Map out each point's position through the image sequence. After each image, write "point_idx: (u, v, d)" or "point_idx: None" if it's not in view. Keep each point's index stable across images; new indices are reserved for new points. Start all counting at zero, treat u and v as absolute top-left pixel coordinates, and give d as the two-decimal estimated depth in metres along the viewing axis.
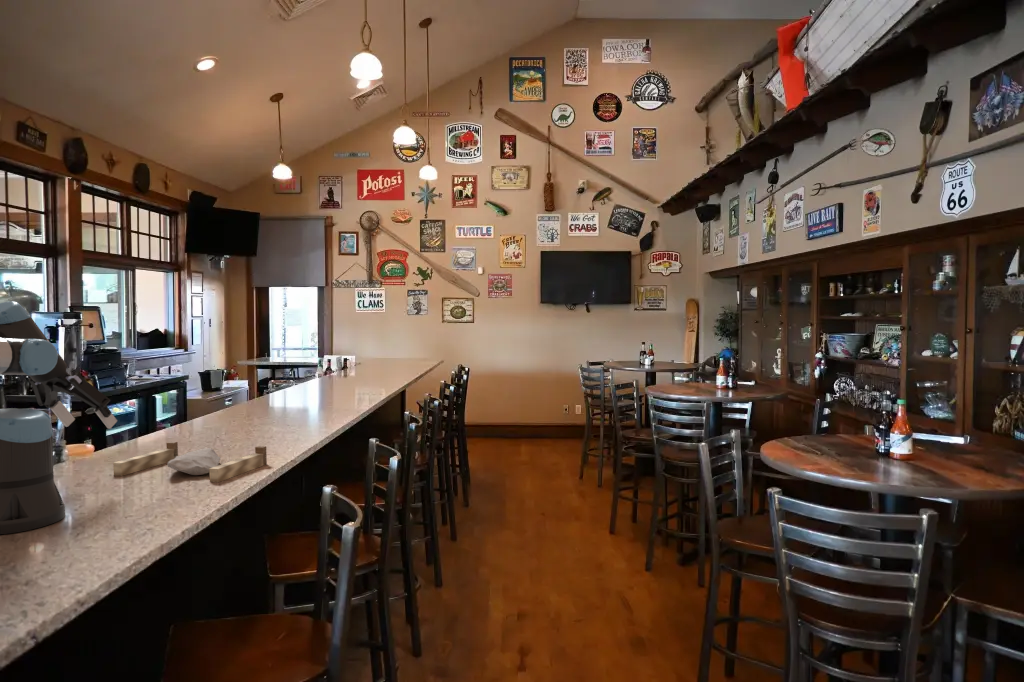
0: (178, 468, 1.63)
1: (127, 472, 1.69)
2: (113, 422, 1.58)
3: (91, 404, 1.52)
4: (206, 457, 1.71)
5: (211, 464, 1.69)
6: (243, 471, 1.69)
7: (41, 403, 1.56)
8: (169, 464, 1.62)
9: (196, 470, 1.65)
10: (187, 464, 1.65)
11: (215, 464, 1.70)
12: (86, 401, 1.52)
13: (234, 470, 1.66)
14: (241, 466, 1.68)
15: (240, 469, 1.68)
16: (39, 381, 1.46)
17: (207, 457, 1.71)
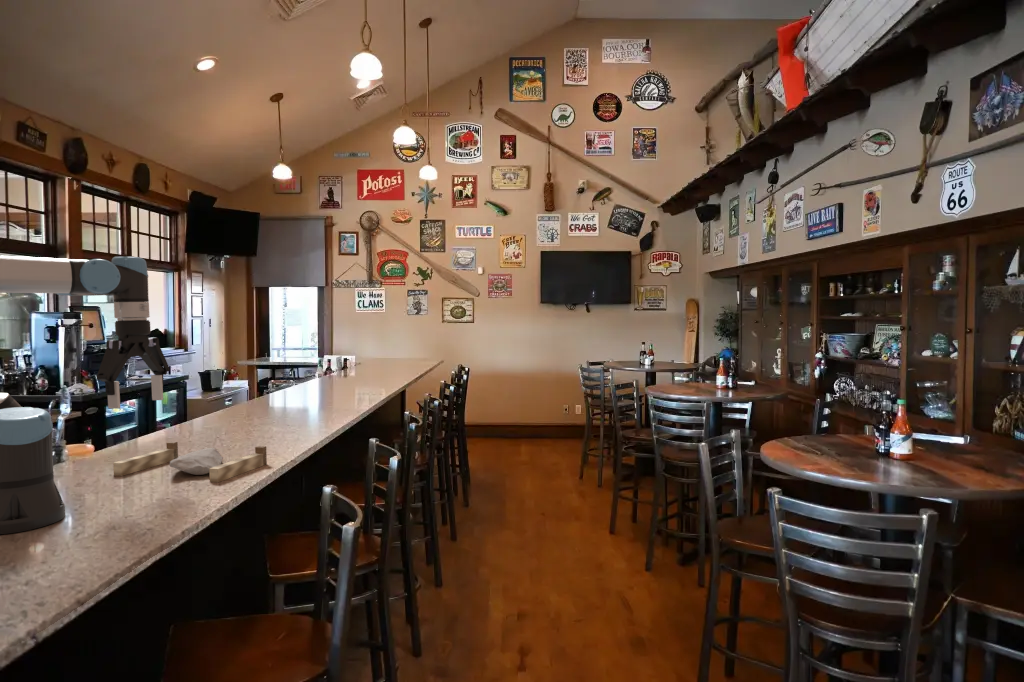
0: (180, 468, 1.63)
1: (127, 472, 1.69)
2: (113, 406, 1.49)
3: None
4: (208, 457, 1.71)
5: (213, 464, 1.69)
6: (243, 471, 1.69)
7: None
8: (171, 464, 1.63)
9: (198, 470, 1.65)
10: (189, 464, 1.65)
11: (217, 464, 1.71)
12: None
13: (234, 470, 1.66)
14: (241, 466, 1.68)
15: (240, 469, 1.68)
16: None
17: (209, 457, 1.71)
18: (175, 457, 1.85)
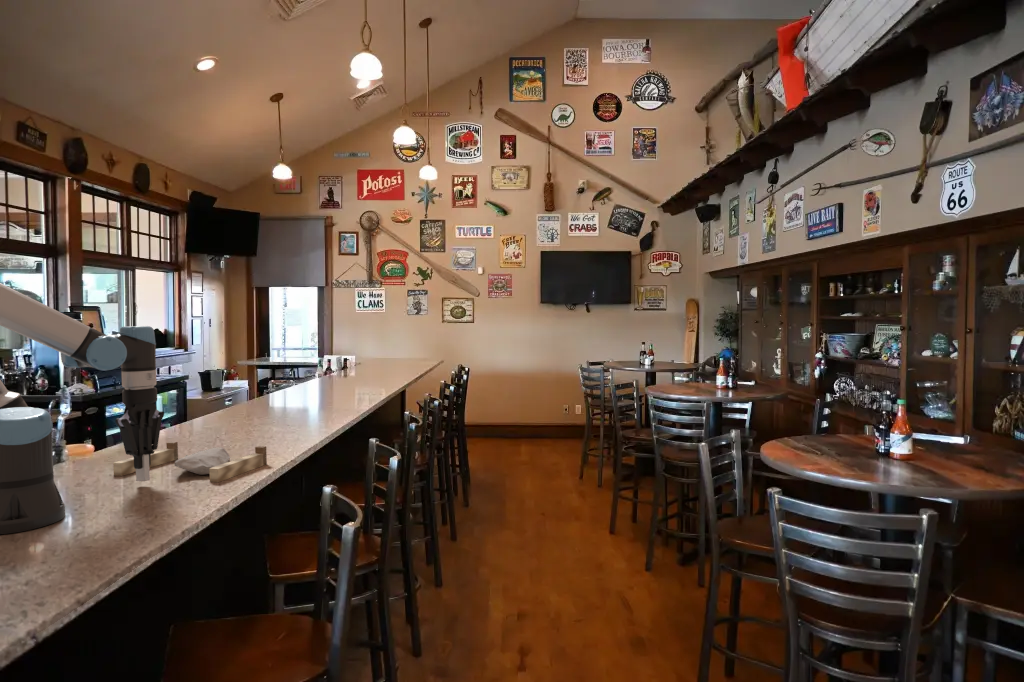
0: (184, 467, 1.64)
1: (127, 472, 1.69)
2: (141, 479, 1.56)
3: None
4: (214, 457, 1.71)
5: (217, 464, 1.69)
6: (243, 471, 1.69)
7: None
8: (175, 463, 1.63)
9: (202, 470, 1.65)
10: (193, 464, 1.66)
11: None
12: None
13: (234, 470, 1.66)
14: (241, 466, 1.68)
15: (240, 469, 1.68)
16: None
17: (215, 457, 1.71)
18: (175, 457, 1.85)
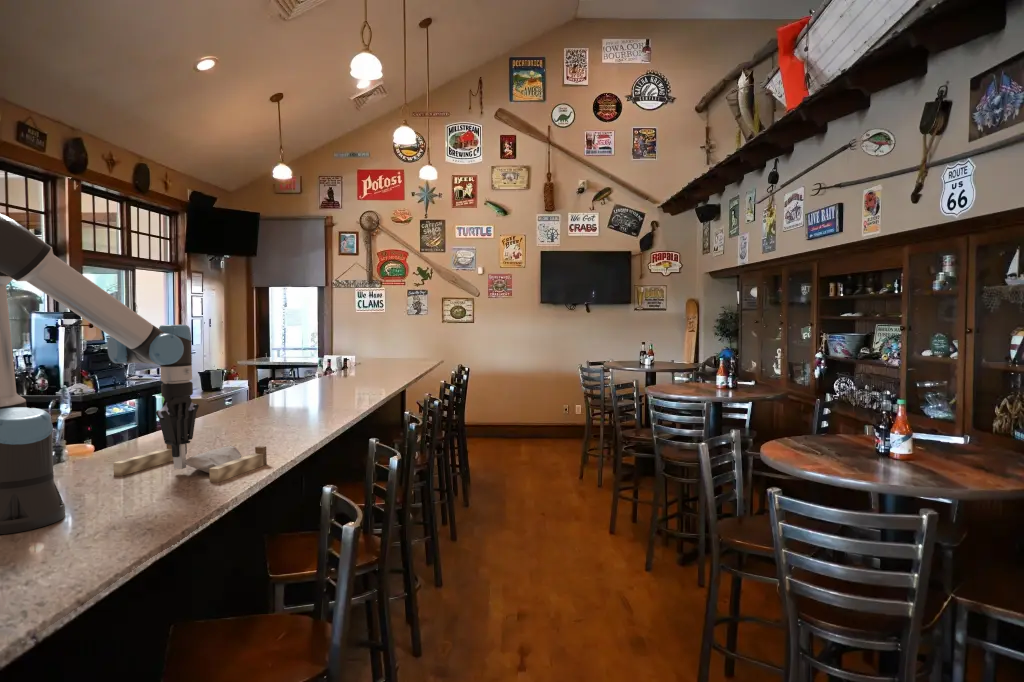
0: (194, 466, 1.65)
1: (127, 472, 1.69)
2: (178, 466, 1.68)
3: None
4: (224, 455, 1.72)
5: None
6: (243, 471, 1.69)
7: None
8: (186, 462, 1.65)
9: None
10: (204, 462, 1.67)
11: None
12: None
13: (234, 470, 1.66)
14: (241, 466, 1.68)
15: (240, 469, 1.68)
16: None
17: (225, 455, 1.73)
18: None
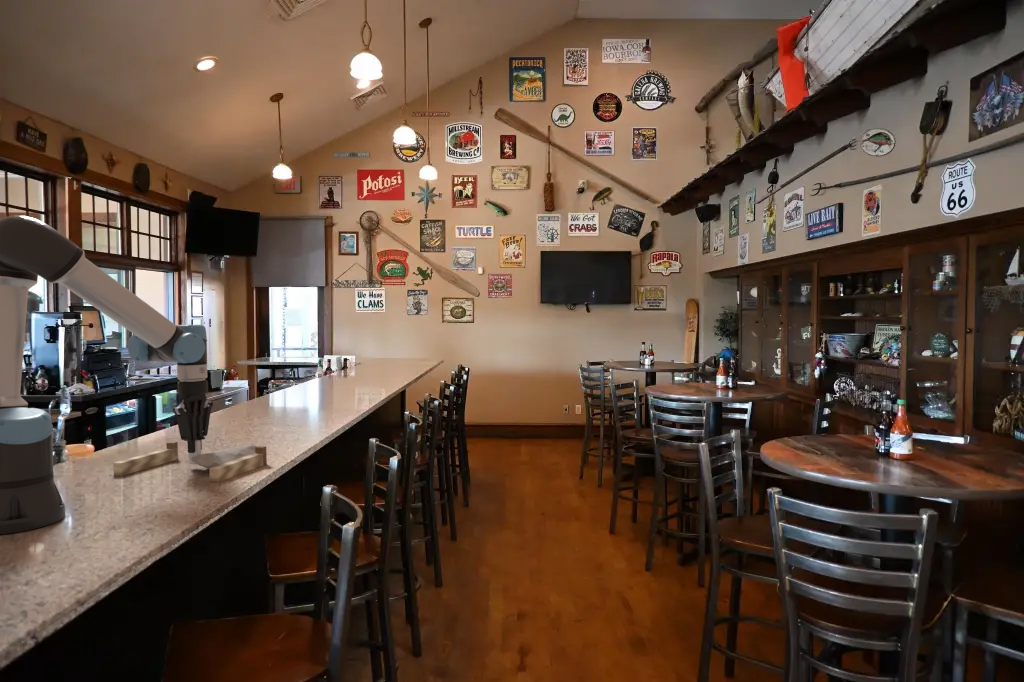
0: (198, 463, 1.68)
1: (127, 472, 1.69)
2: None
3: None
4: (232, 454, 1.74)
5: None
6: (243, 471, 1.69)
7: None
8: (192, 459, 1.68)
9: None
10: (209, 460, 1.69)
11: None
12: None
13: (234, 470, 1.66)
14: (241, 466, 1.68)
15: (240, 469, 1.68)
16: None
17: (233, 454, 1.74)
18: (175, 457, 1.85)
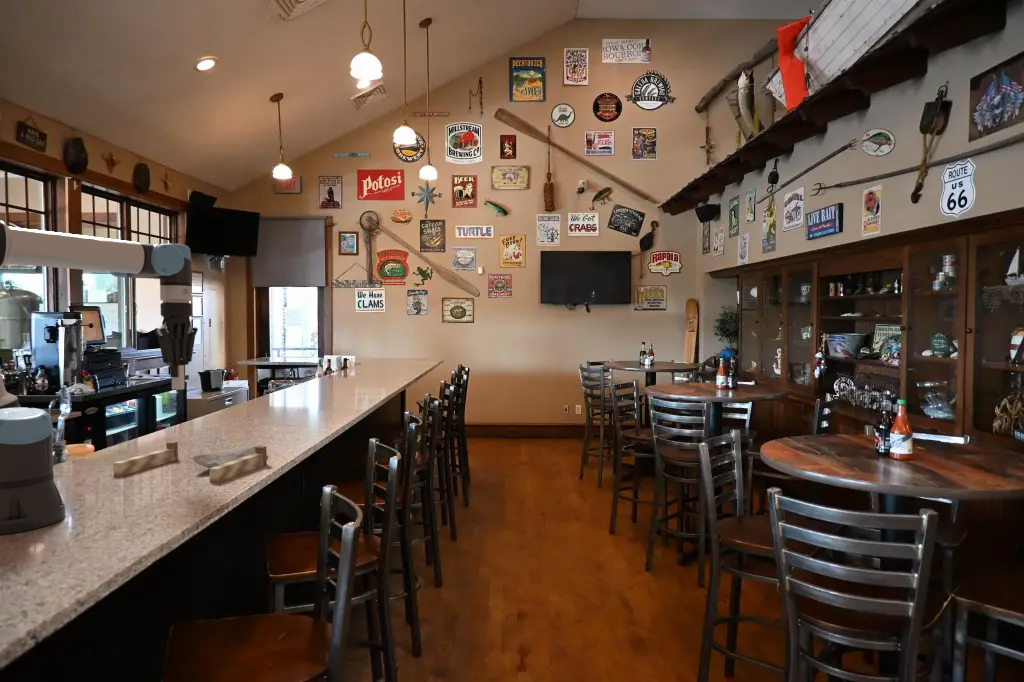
0: (199, 463, 1.68)
1: (127, 472, 1.69)
2: (176, 387, 1.68)
3: None
4: (234, 454, 1.74)
5: None
6: (243, 471, 1.69)
7: None
8: (193, 458, 1.69)
9: None
10: (210, 460, 1.70)
11: None
12: None
13: (234, 470, 1.66)
14: (241, 466, 1.68)
15: (240, 469, 1.68)
16: None
17: (235, 454, 1.74)
18: (175, 457, 1.85)
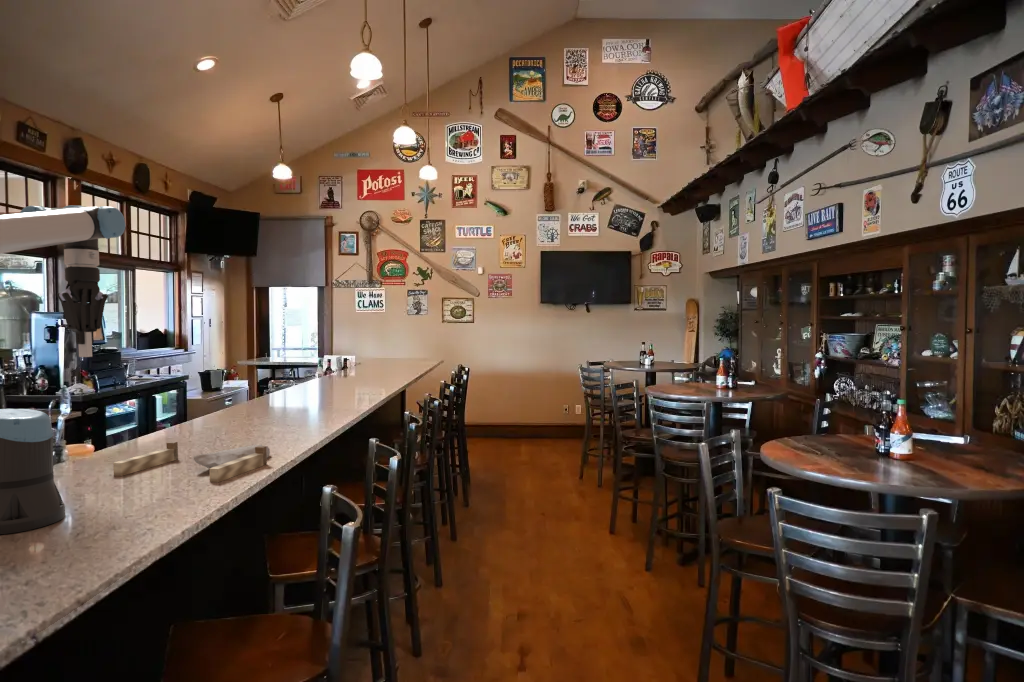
0: (199, 462, 1.69)
1: (127, 472, 1.69)
2: (83, 354, 1.63)
3: None
4: (234, 454, 1.74)
5: None
6: (243, 471, 1.69)
7: None
8: (194, 458, 1.69)
9: None
10: (210, 460, 1.70)
11: None
12: None
13: (234, 470, 1.66)
14: (241, 466, 1.68)
15: (240, 469, 1.68)
16: None
17: (235, 455, 1.74)
18: (175, 457, 1.85)
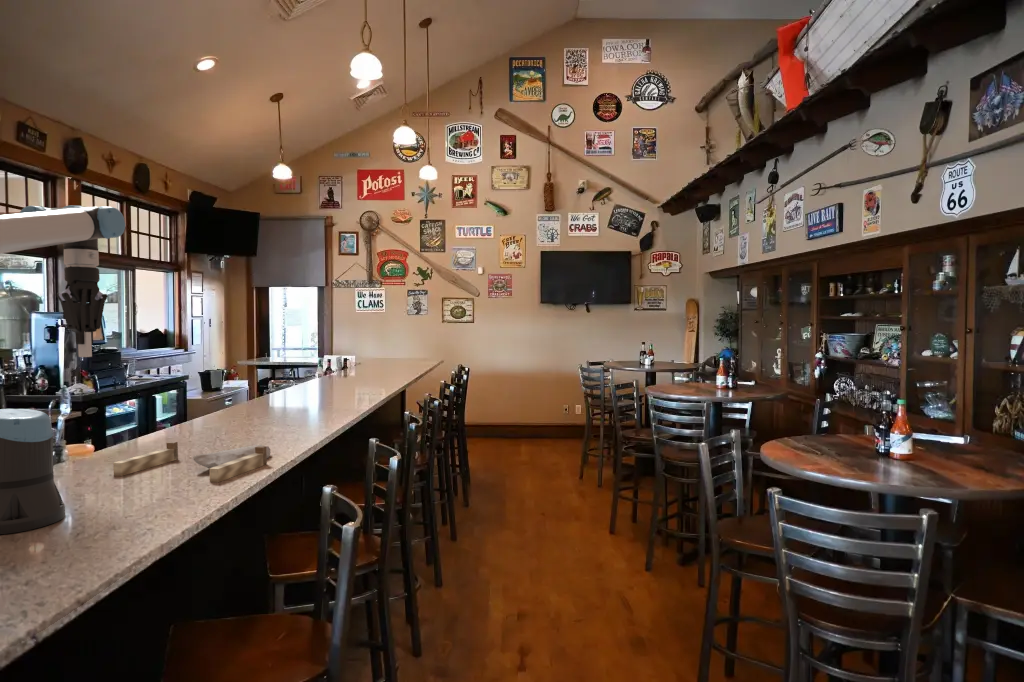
0: (199, 463, 1.69)
1: (127, 472, 1.69)
2: (83, 354, 1.63)
3: None
4: (234, 455, 1.74)
5: None
6: (243, 471, 1.69)
7: None
8: (193, 458, 1.70)
9: None
10: (209, 460, 1.70)
11: None
12: None
13: (234, 470, 1.66)
14: (241, 466, 1.68)
15: (240, 469, 1.68)
16: None
17: (235, 455, 1.74)
18: (175, 457, 1.85)
